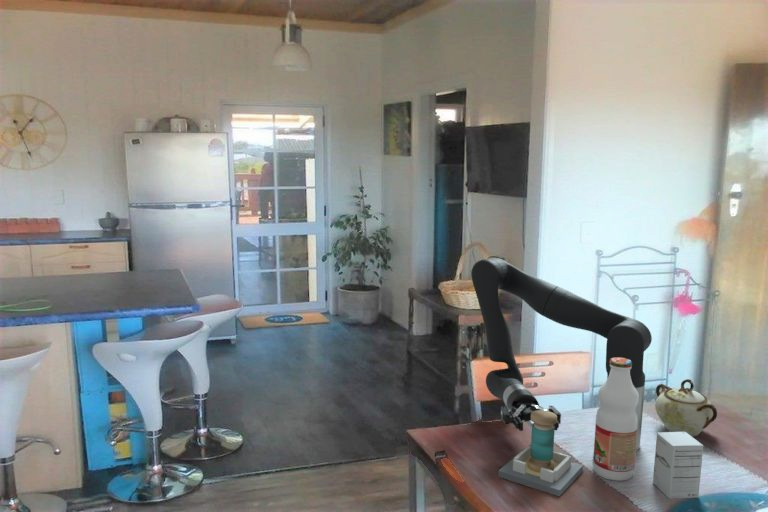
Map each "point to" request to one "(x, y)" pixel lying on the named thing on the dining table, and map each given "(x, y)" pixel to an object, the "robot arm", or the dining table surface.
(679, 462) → the supplement box
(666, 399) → the sugar bowl
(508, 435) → the dining table surface
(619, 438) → the fruit juice
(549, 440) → the spool
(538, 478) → the white grey square tray
